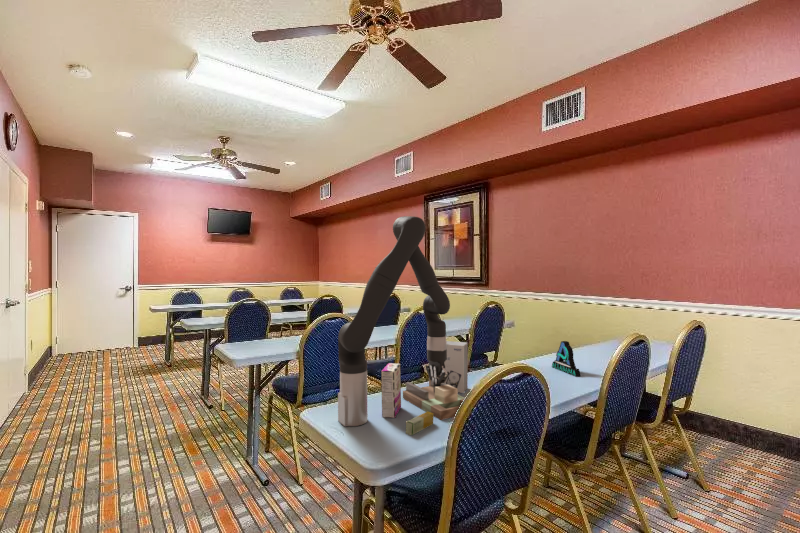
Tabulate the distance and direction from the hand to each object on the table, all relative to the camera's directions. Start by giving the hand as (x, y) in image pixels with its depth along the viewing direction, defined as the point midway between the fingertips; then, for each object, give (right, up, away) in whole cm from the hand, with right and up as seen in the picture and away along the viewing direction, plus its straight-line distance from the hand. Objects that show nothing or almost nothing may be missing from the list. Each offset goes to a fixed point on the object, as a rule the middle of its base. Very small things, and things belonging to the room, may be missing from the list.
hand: (437, 393), depth 152 cm
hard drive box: (+7, -4, +19) cm, 20 cm away
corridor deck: (0, -4, -1) cm, 4 cm away
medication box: (-8, -5, -23) cm, 25 cm away
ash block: (+3, -1, -5) cm, 6 cm away
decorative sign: (+67, -4, +45) cm, 81 cm away
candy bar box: (-17, -5, -8) cm, 20 cm away
